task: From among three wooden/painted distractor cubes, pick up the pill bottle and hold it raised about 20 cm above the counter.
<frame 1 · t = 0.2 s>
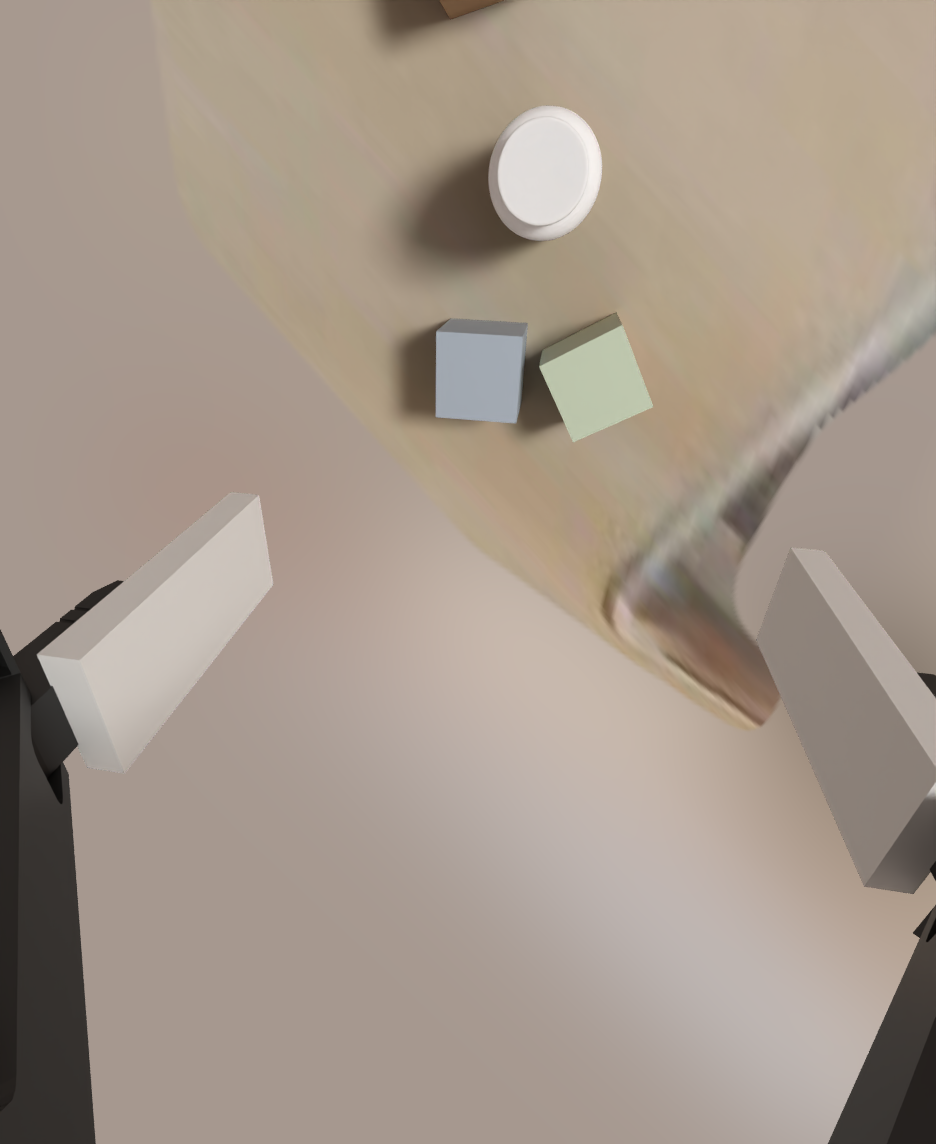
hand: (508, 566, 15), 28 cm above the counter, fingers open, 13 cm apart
pill bottle: (547, 182, 34), on the counter
sage cube: (593, 367, 39), on the counter
slate blue cube: (487, 360, 39), on the counter
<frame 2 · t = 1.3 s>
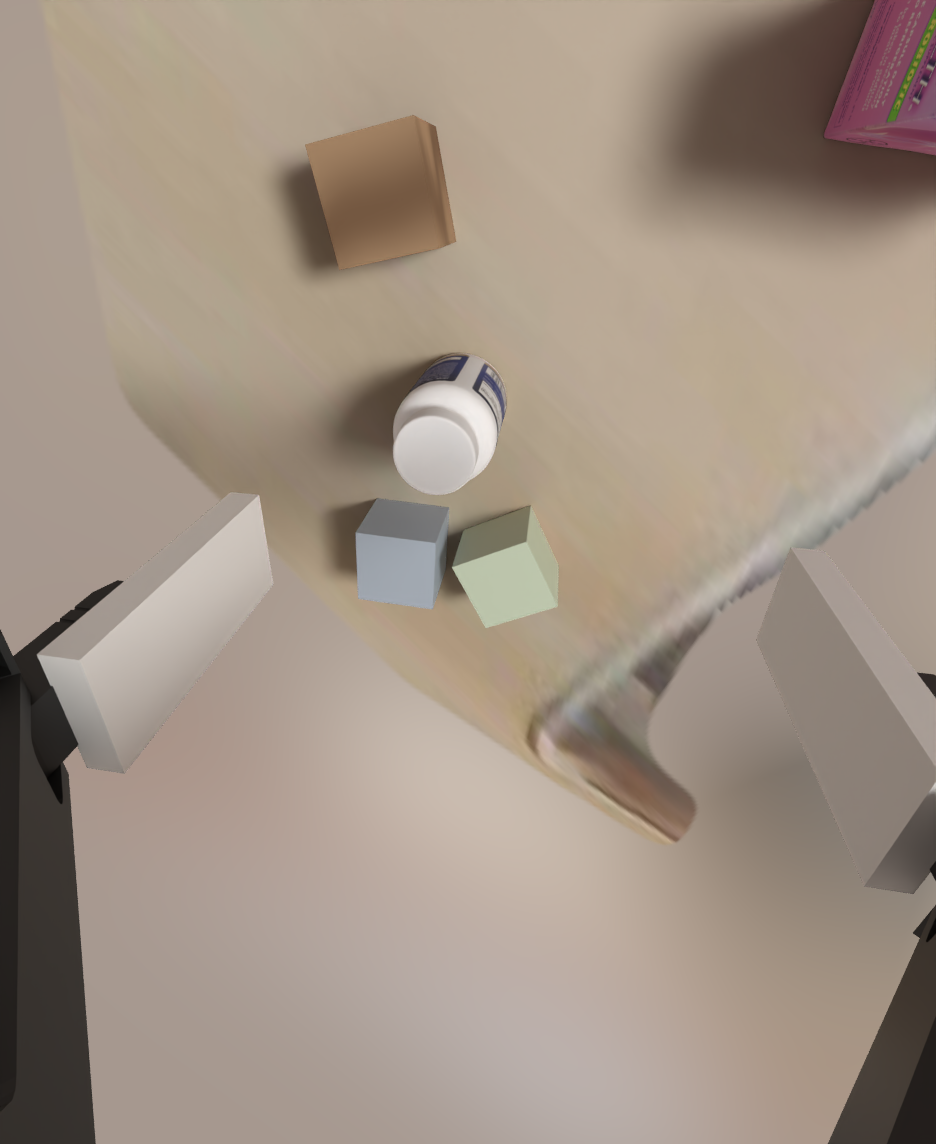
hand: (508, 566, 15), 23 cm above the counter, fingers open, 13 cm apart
pill bottle: (464, 396, 36), on the counter
sage cube: (511, 547, 41), on the counter
slate blue cube: (412, 534, 42), on the counter
walnut cube: (400, 197, 31), on the counter
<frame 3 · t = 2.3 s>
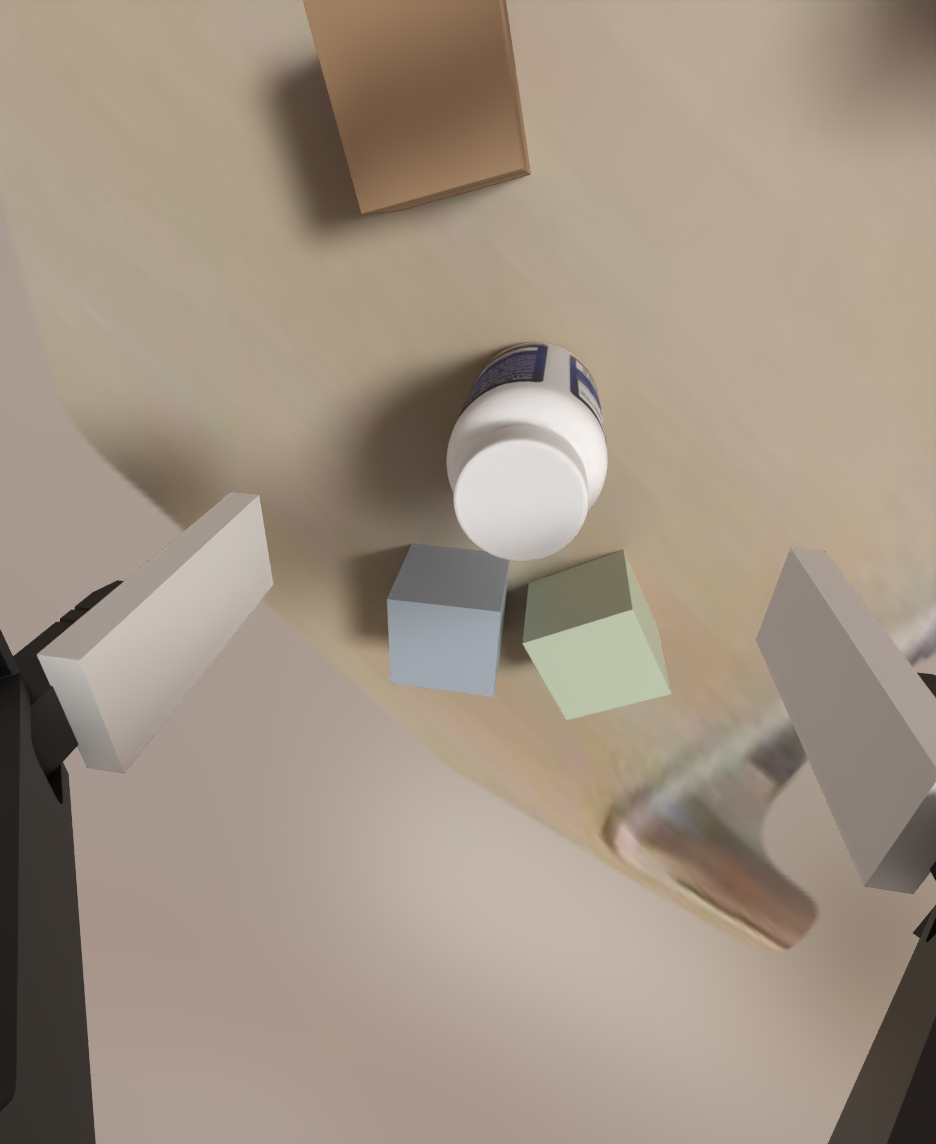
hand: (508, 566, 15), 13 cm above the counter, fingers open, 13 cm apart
pill bottle: (534, 404, 26), on the counter
sage cube: (593, 604, 30), on the counter
slate blue cube: (459, 589, 31), on the counter
walnut cube: (447, 109, 21), on the counter
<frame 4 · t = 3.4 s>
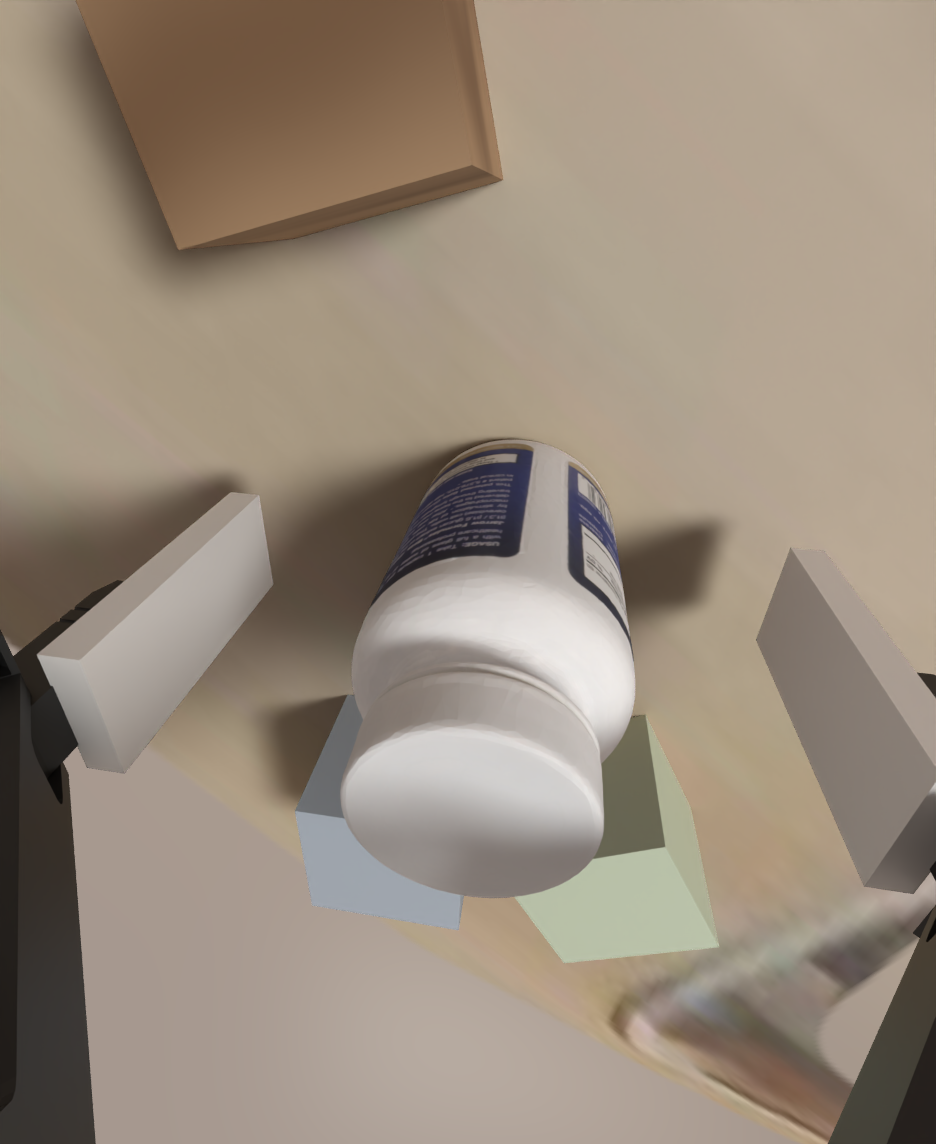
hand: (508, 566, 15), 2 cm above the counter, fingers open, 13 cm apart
pill bottle: (516, 522, 17), on the counter
sage cube: (601, 776, 22), on the counter
slate blue cube: (416, 750, 23), on the counter
walnut cube: (361, 71, 12), on the counter
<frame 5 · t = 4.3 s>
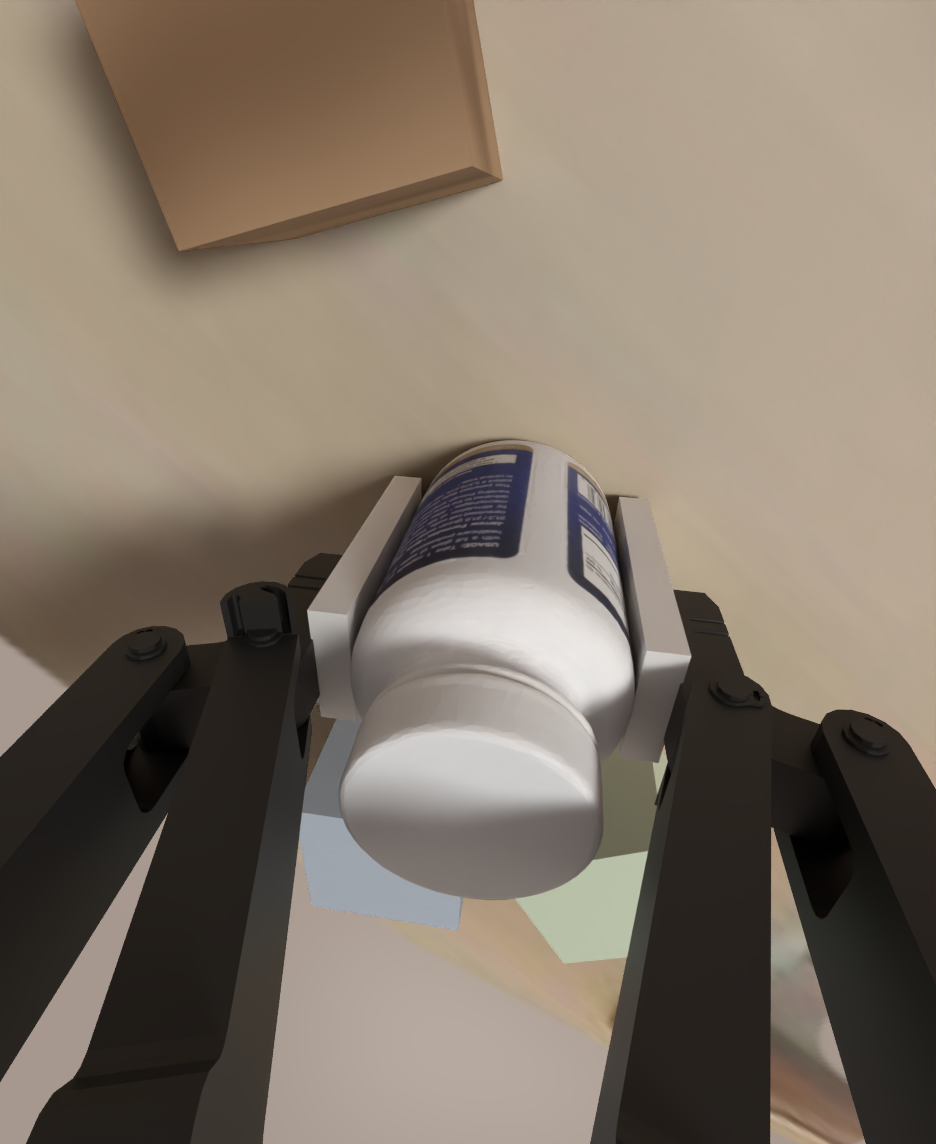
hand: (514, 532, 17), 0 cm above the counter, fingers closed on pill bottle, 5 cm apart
pill bottle: (515, 523, 17), on the counter, touching gripper
sage cube: (601, 776, 22), on the counter
slate blue cube: (415, 750, 23), on the counter
walnut cube: (360, 71, 12), on the counter
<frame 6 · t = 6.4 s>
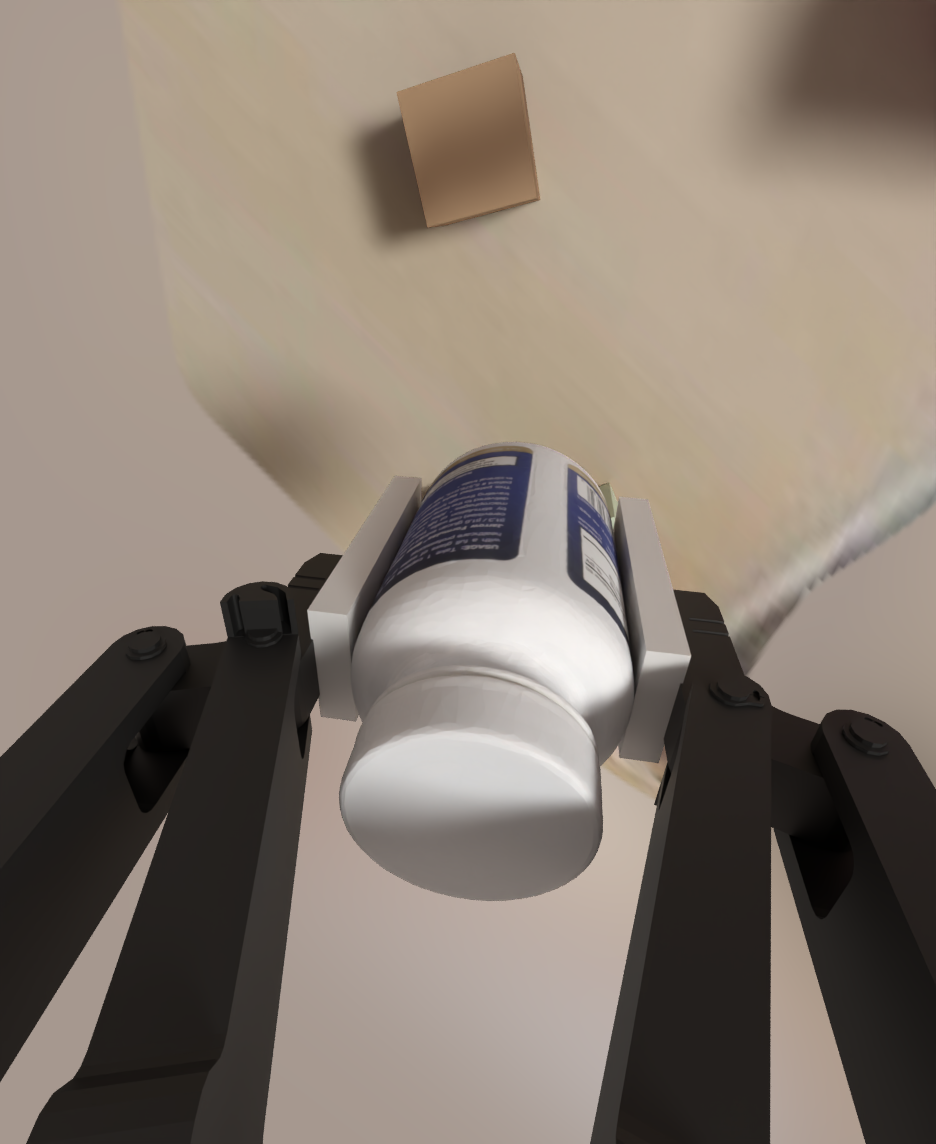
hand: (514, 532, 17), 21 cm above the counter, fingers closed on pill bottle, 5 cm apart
pill bottle: (515, 524, 17), point 20 cm above the counter, touching gripper
sage cube: (586, 528, 39), on the counter
walnut cube: (482, 155, 29), on the counter
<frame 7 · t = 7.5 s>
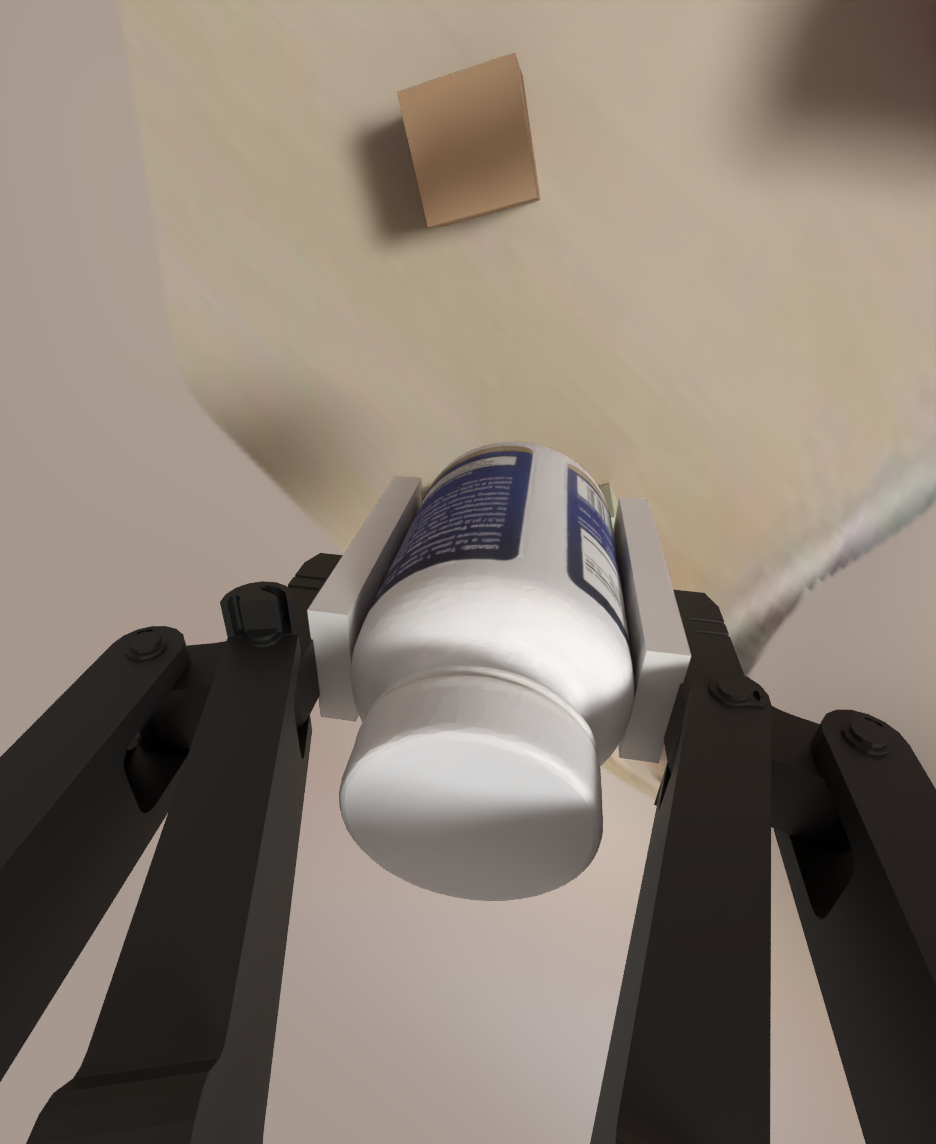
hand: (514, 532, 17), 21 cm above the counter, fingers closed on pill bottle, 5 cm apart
pill bottle: (515, 524, 17), point 20 cm above the counter, touching gripper
sage cube: (586, 528, 39), on the counter
walnut cube: (482, 155, 29), on the counter
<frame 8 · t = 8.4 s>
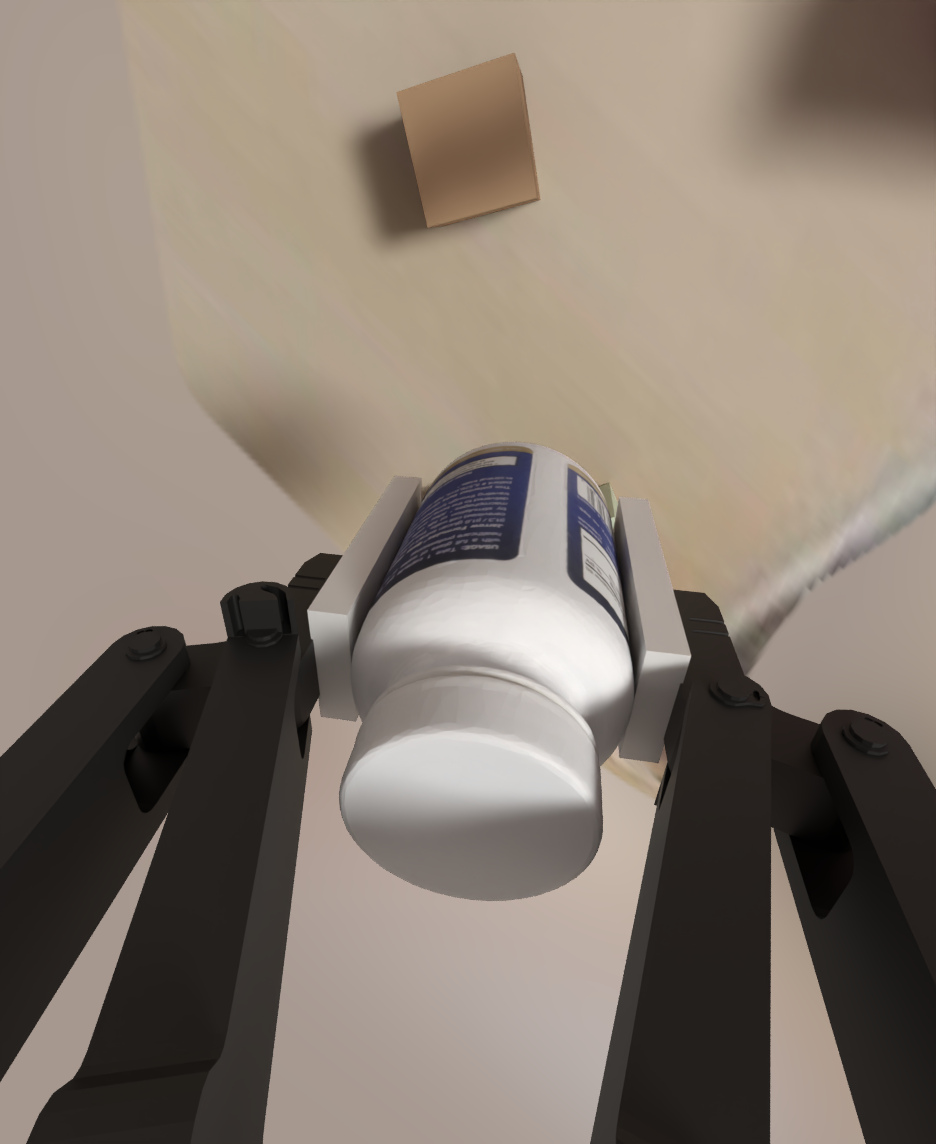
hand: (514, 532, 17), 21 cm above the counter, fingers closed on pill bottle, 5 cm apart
pill bottle: (515, 524, 17), point 20 cm above the counter, touching gripper
sage cube: (586, 528, 39), on the counter
walnut cube: (482, 155, 29), on the counter
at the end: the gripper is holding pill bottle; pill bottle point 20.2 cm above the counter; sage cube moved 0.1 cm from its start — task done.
